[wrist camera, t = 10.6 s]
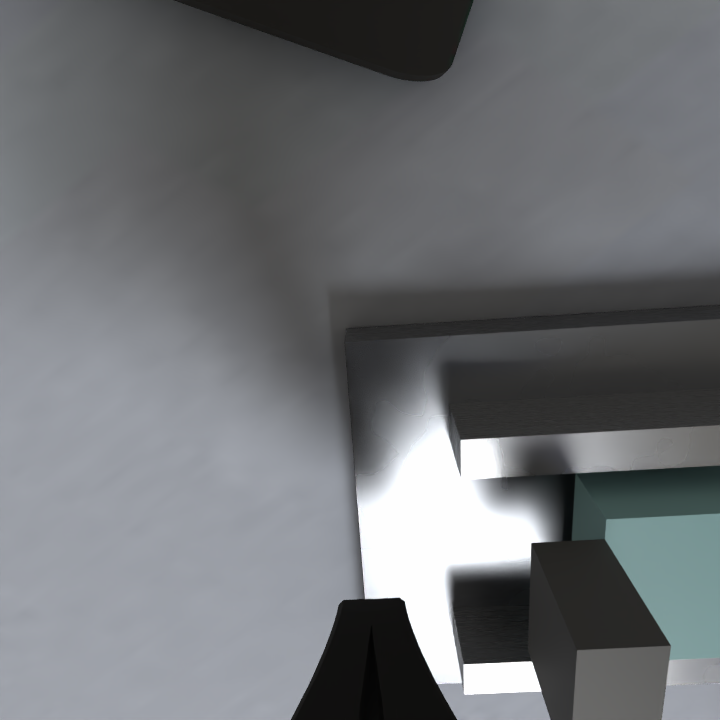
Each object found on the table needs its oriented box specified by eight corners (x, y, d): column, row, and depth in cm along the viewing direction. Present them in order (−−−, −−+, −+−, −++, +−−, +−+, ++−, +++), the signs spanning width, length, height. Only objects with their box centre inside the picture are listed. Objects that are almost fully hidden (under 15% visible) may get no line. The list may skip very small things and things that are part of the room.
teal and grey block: (760, 462, 15) (947, 609, 10) (737, 595, 16) (893, 780, 11) (510, 476, 15) (578, 626, 10) (508, 606, 16) (567, 793, 11)
